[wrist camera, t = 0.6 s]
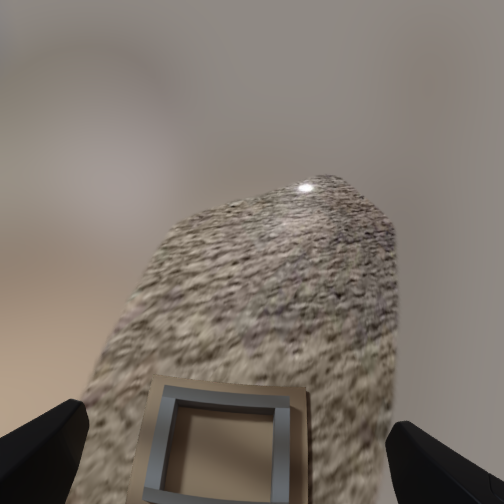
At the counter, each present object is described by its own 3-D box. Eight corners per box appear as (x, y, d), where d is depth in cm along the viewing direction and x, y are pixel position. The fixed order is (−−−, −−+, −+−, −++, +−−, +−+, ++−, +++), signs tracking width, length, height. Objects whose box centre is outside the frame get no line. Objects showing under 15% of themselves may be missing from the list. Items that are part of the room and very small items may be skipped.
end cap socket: (305, 534, 14) (312, 535, 13) (125, 515, 14) (116, 513, 13) (304, 389, 23) (309, 378, 22) (155, 376, 23) (149, 364, 22)
